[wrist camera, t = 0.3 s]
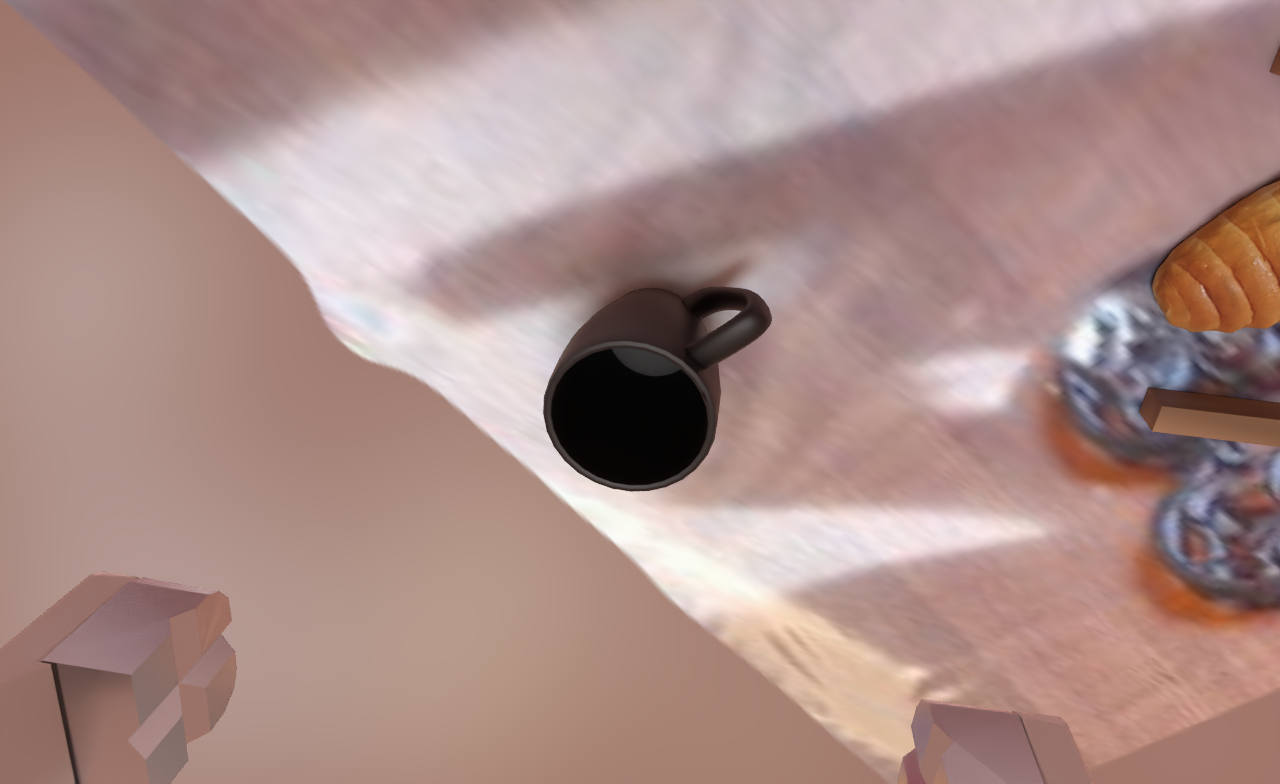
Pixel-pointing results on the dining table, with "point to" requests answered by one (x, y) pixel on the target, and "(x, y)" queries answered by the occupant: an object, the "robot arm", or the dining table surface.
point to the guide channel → (1213, 408)
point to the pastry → (1226, 270)
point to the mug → (647, 385)
